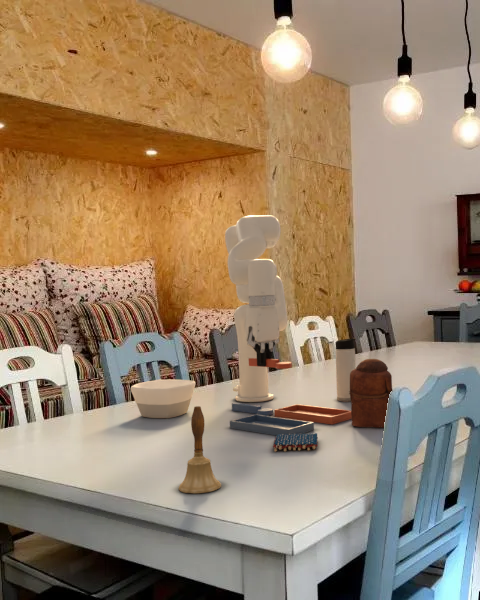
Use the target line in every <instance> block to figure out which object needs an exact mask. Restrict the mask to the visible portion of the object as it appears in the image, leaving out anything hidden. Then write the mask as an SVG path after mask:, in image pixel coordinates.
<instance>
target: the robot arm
mask: <svg viewBox="0 0 480 600" xmlns="http://www.w3.org/2000/svg"><path fill="white" fill-rule="evenodd" d="M281 231H282V229H281V224H280V221H279V219H278V218H277V217H276V216H274V215H270V214H264V215H263V214H262V215H245V216H242V217H240V218H239V219H238V220H237V221H236V224H234V225H231V226H229V227H228V228H227V229H226V230H225V232H224V233H225V234H224V239H225V240H224V242H225V247H226V250H227V254H228V255H227V270H228V271H227V272H228V277H229V280H230V281H231V283H232V284H234V285H235V291H236V296H237V300H238V301H239V302H240V303H242V304H241V305H240V306H238V307H237V308H236V309H234V313H233V318H234V320H233V321H234V325H235V326H234V327H235V330H236V339H237V353H238V376H239V378H238V379H239V384H237V385H235V387H233V388H232V391H233V392H236V393H237V395H235V397H234V399H235V401H236V402H239V403H260V402H267V401H271V400H273V399H274V393H270V392H269V370H268V369H269V367H265V366H266V359H273V357H272V356H273V355H272V352H274V348H275V346H276V345H277V344H279V343H280V332H282V331H284V330H286V328H287V326H288V312H287V302H286V296H285V295H286V294H285V288H284V283H283V280H282V278H281V277H280V276H279V275H278V268H277V264H276V263H275V262H274V261H273V260H272V259H270V258H260V257H262V256H263V255H264V253H265V252H266V250H267V249H273V248H274V247H275V246H276V245H277V243H278V242H279V241H280V238H281V233H282V232H281ZM249 358H257V366H249ZM258 366H262V367H258Z"/></svg>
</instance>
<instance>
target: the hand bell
mask: <svg viewBox="0 0 480 600" xmlns="http://www.w3.org/2000/svg"><path fill="white" fill-rule="evenodd" d="M204 416H205V415H204V414H203V411H202V407H201V406H199V405H198V406H197V405H196V406H194V407H193V412H192V414H191V419H190V425H191V426H190V428H191V432H192V435H193V441H194V442H193V443H194V446H193V447H194V450H193V451H194V452H193V457H192V458H191V459H188V461H187V463H186V466H187V467H186V473H185V476H184V479H183V481H182V482H181V483H180V484H179V486H178V491H180V492H181V493H184V494H205V493H210V492H214V491H216V490H219V489H220V488H222V483H221V482H220V481H219V480H218V479H217V478H216V476H215V475H214V471H213V469H212V465H211V460H210V459H209V458H208V457H205V456H204V453H203V452H204V448H203V447H204V446H203V436H204V432H205V417H204Z"/></svg>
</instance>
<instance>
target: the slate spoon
mask: <svg viewBox="0 0 480 600" xmlns="http://www.w3.org/2000/svg"><path fill="white" fill-rule="evenodd" d="M231 411H233V412H241V413H248V414H249V413H250V414H254V415H255V414H256V415H263V416H272V415H274V408H269V407H264V408H262V405H258V404H252V403H251V404H249V403H244V402H232V403H231Z"/></svg>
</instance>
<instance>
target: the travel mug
mask: <svg viewBox="0 0 480 600" xmlns="http://www.w3.org/2000/svg"><path fill="white" fill-rule="evenodd" d="M356 340H357V338H356V337H352V338H345V339H339V340H336V341H335V378H336V401H338V402H343V403H344V402H345V403H346V402H347V403H349V402H351V399H350V373H351V371H352V370H354V369H356V367H357V365H356V346H355V345H356V344H355V343H356V342H355V341H356Z"/></svg>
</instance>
